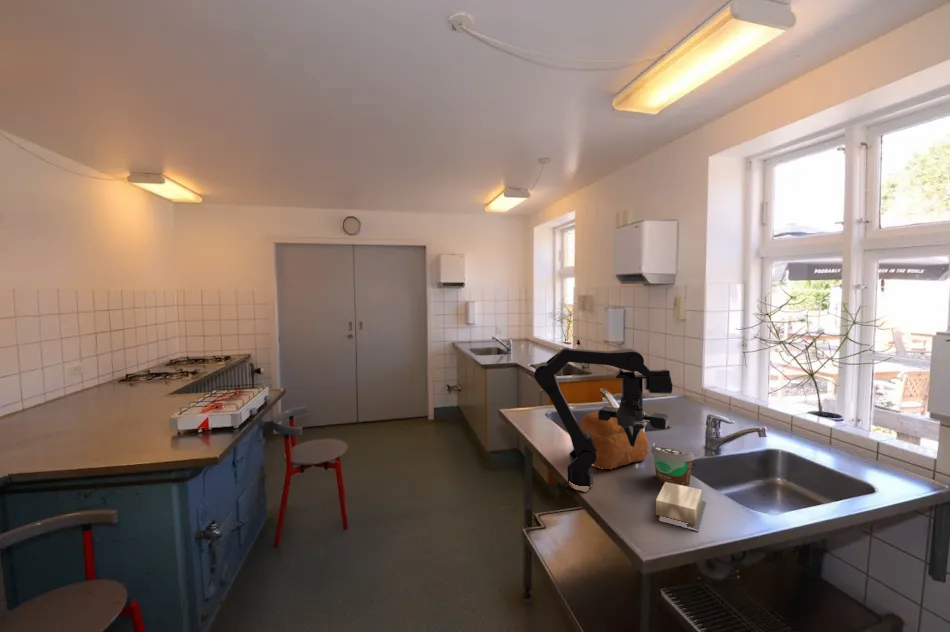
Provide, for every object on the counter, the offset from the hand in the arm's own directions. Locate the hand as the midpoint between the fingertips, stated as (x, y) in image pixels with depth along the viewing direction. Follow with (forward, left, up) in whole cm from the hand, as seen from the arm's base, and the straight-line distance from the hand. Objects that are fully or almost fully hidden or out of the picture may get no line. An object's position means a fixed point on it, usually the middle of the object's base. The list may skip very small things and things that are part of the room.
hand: (632, 446), depth 121 cm
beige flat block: (+9, -6, -11) cm, 15 cm away
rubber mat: (+14, -6, -13) cm, 20 cm away
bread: (-12, +19, -13) cm, 26 cm away
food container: (+8, +10, -13) cm, 18 cm away
